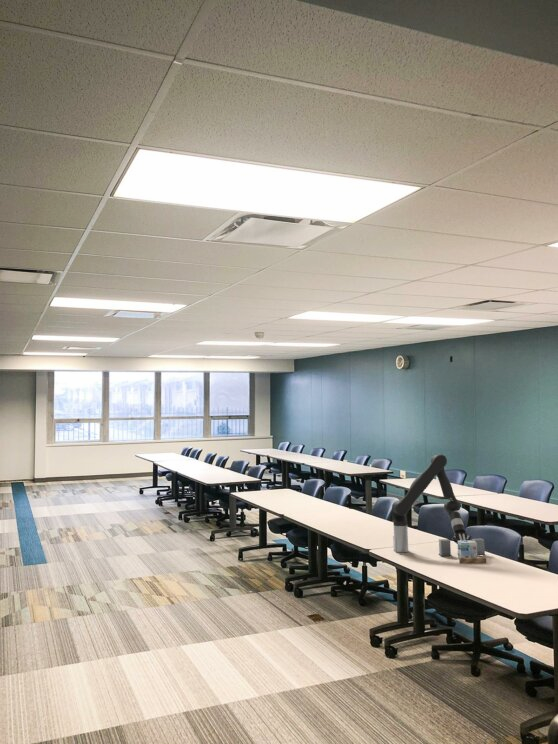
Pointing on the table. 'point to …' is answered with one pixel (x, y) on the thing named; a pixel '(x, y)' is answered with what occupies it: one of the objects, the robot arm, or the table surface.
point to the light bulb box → (467, 549)
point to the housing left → (444, 548)
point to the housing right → (480, 546)
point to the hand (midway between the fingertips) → (464, 549)
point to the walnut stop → (472, 560)
